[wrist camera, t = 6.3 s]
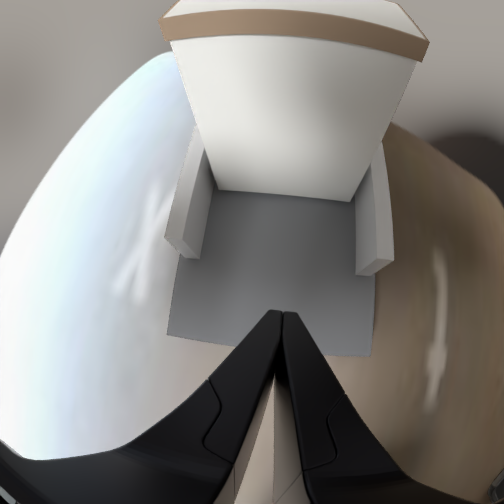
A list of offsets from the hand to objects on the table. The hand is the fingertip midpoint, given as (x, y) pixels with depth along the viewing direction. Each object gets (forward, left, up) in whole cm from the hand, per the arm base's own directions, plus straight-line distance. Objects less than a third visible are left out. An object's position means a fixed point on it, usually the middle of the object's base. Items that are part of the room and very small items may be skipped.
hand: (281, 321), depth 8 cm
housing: (+4, -3, -6) cm, 8 cm away
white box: (+6, -6, -4) cm, 9 cm away
